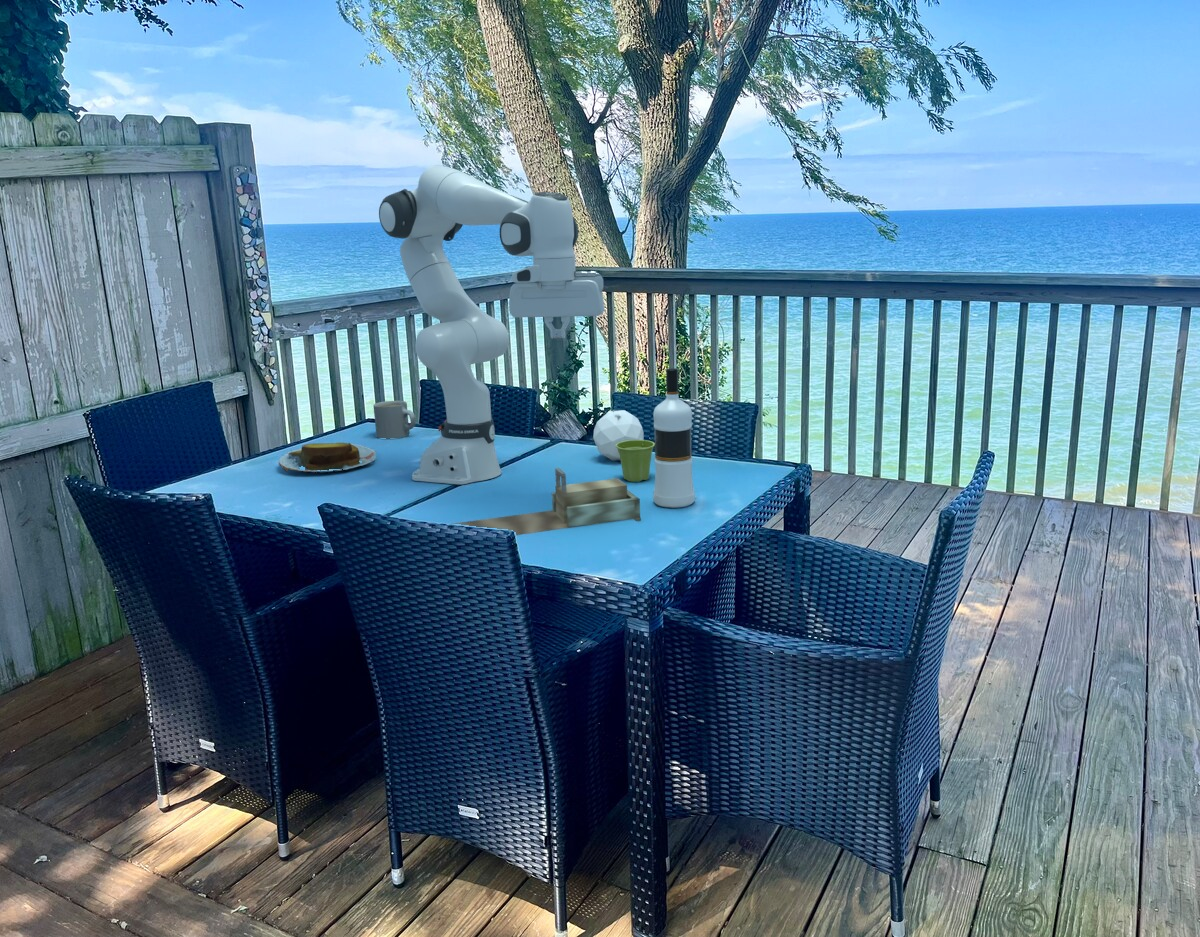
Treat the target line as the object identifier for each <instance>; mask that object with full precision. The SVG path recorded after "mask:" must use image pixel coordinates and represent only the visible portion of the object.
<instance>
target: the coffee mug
mask: <svg viewBox="0 0 1200 937" xmlns="http://www.w3.org/2000/svg"><path fill="white" fill-rule="evenodd" d="M407 403H408V402H407V401H404V400H386V401H380V402H376V403H373V404H372V405H373V414H374V415H373V416H374V424H375V425H374V426H375V434H376V438H377V437H378V438H386V439H385V440H391V439H390V438H399V439H402V438H401V437H404V438H406V437H405V436H407V437H409V436H410V435H409V434H411V433H410V430H412V429H414V428H415V426H416V421H417V420H416V415H415V413H414V411H412V410H409V409H408V404H407ZM409 420H410V421H409ZM408 435H409V436H408ZM378 438H377V439H378Z"/></svg>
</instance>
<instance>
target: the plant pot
mask: <svg viewBox="0 0 1200 937" xmlns="http://www.w3.org/2000/svg"><path fill="white" fill-rule="evenodd" d="M616 448H618V453H619V454H620V460H619V461H620V464H621V469H622V475H623V479H624V480H626V481H627V482H629V483H630V482H631V483H632V482H635V483H637V482H641V481H647V480H648V479H649V478H650V471H651V470H650V468H651V461H652V453H653V451H654V448H655V441H651V440H646V439H644V440H628V441H623V442H619V443H617V444H616Z"/></svg>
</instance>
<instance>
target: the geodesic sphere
mask: <svg viewBox="0 0 1200 937" xmlns="http://www.w3.org/2000/svg"><path fill="white" fill-rule="evenodd" d="M644 435H645V434H644V430H643V426H642V424H641V422H640V420H639V418H638V417H636V416H635V415H633V414H631V413H630V412H628V411H626V410H625V409H624V410H616V409H612V410H610V411H608V412H606V414H604V415H603V416H602V417H601V418H600V419H599V420H597V421H596V424H595V425H594V429H593V436H592V437H593V438H592V439H593V440H594V443H595V444H594V445H595V447H596V448H597V450H598V452H599V453H600V454H601V455H603V456H604V457H605V458H607V459H609V460H610V461H612V462H614V461H621V460H620V454H619V453H618V448H616V444H617V443H619V442H623V441H628V440H645V439H644V437H645V436H644Z"/></svg>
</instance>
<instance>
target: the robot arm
mask: <svg viewBox="0 0 1200 937" xmlns="http://www.w3.org/2000/svg"><path fill="white" fill-rule="evenodd" d="M378 218H379V223H380V226H381V227H382V230H383V231H384V232H385V233H386V234H387V235H388V236H389V237H392V238H395V239H403V241H402V242H401V244H400V248H399V253H400V254H399V255H400V259H401V262H402V263H401V264H402V266H403V268H404V269H403V270H404V272H405V275H406V277H407V279H408V281H409V285H410V286H411V288H412V290H413V292H414V294H415V296H416V298H417V300H418V303H419V305H420V307H421V309H422V311H423V312H424V313H425V314H427V315H428V316H430V317H431V318H434V319H436V320H438V321H440V322H438V323H434V324H432V325H430V326H428V327H425V328H423V329H421V330H420V331H419V332H418V334H417V336H416V339H415V344H414V346H415V352H416V356H417V358H418V360H419V361H420V362H421V363H422V365H423V366H425V367H426V368H428V369H429V370H430V371H431V372H432V373H433V374H434V375H435V377H436V378H437V379H438V382H439V383H440V385H441V388H442V392H443V397H444V404H445V405H444V406H445V413H446V419H445V420H444V422H442V423H441V424H440V425H439V426H438V427H437V428H438V431H439V432H440V433H441V434H440V437H438V438H437V439H435V440H434V442H432V443H431V444H430V445H428V447H427V448H426V449H425V450H424V451H423V452H422V454H421V456H420V460H419V461H420V462H419V463H420V465H419V468H417V469H416V470H415V471H413V472H412V474H411V480H412V481H417V482H427V483H439V484H448V485H449V484H450V485H467V484H470V483H475V482H481V481H486V480H489V479H493V478H497V477H499V476H500V475H501V474H502V470H501V467H500V465H499V460H498V458H497V453H496V452H497V451H496V447H495V436H496V434H495V431H496V430H495V424H494V419H493V418H492V409H491V397H490V396H491V395H490V394H491V393H490V390H489V387H488V386H487V385H486V384H485V383H484V382H483V381H481V380H478V379H476V378H475V376H474V373H473V370H472V365H476V364H481V363H482V364H483V363H488V362H490V361H493V360H495V359H497V358H499V357H501V356H503V355H504V354H506V352H507V351H508V348H509V345H510V344H509V343H510V335H509V331H508V329H507V327H506V326H505V324H504V323H503V322H502V321H501V320H499V319H497V318H495V317H492V315H489V314H487V313H486V312H485V311H484V310H483V309H482V308H480V306H478V305H477V304H476V303H475V302H474V301H473V300H472V299H471V298H470V297H469V296H468V294H467V293H466V291H465V289H464V288H463V286H462V284H461V282H460V281H459V279H458V277H457V275H456V273H455V271H454V269H453V268H452V265H451V263H450V261H449V259H448V257H447V255H446V254H445V251H444V247H443V243H444V241H445V242H450V241H452V240H454V238H455V235H456V234H457V233H458V232H459V231H460V230H461V229H462V227H463V226H493V225H494V226H497V225H498V226H499V239H500V240H499V241H500V243H501V245H502V247H503V249H504V250H505V252H507V253H508V254H509V255H511V256H514V257H515V256H516V257H532V262H533V264H532V265H529V266H525V267H524V268H521V269H520V270H519V269H518V270H516V271H514V272H513V273H511V280H512V282H513V284H512V286H510V290H509V298H508V299H509V300H508V301H509V302H508V305H509V307H508V308H509V310H508V311H509V314H510V315H511V316H512V317H513V318H544V319H543V320H544V324H545V325H546V327H547V328H548V330H549V335H550V339H565V338H566V335H567V334H566V329H567V327H568V325H569V324H570V321H571V317H599V316H601V315H602V314H603V313H604V311H605V302H604V294H603V291H604V286H605V285H604V284H605V282H604V277H603V276H602V275H601V273H598V272H597V271H596V270H595V271H594V270H590V271H584V270H583V271H580V270H579V271H577V270H576V253H575V250H574V247H576V244H577V242H578V238H579V227H578V226H579V225H578V222H577V221H576V219H575V217H574V214H573V210H572V204H571V202H570V198H569V197H568V196H567V195H565V194H562V193H559V192H550V191H540V192H539V191H538V192H536V193H535V192H534V193H533V194H532V196H531V197H530V200H529V201H527V200H524V199H523V198H519V197H517V196H514V195H511V194H509V193H506V192H504V191H503V190H500V189H498V188H496V187H493V186H491V185H490V184H487V183H485V182H483V181H482V180H480V179H477V178H475V177H473V176H471V175H469V174H468V173H466V172H463V171H461V170H458V169H456V168H453V167H448V166H445V165H438V164H437V165H432V166H428V167H427V168H426V169H425V170H424V171H423V172H422V173H421V175H420V177H419V180H418V184H417V188H416V189H414V190H413V189H412V190H408V189H406V188H403V189H401V190H399V191H397V192H393V193H391V194H389V195H387V196H385V197H384V198H383V199H382V201H381V203H380V206H379V209H378ZM557 317H558V318H560V319H561V320H560V321H561V322H562V326H561V328H559V329H557V328H555V326H554V325H553V323H552V322H553V321H554V318H557Z"/></svg>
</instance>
